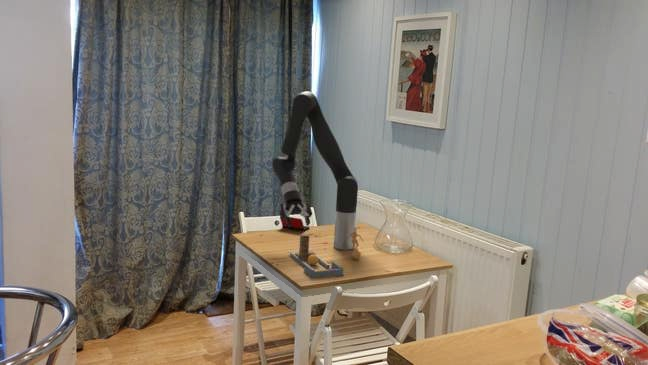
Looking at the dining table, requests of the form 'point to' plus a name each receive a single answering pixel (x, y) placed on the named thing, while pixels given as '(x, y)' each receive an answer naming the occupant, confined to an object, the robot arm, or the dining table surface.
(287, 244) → the dining table surface
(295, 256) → the rails
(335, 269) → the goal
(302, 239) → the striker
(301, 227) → the red slanted panel
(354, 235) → the figurine
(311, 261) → the ball
